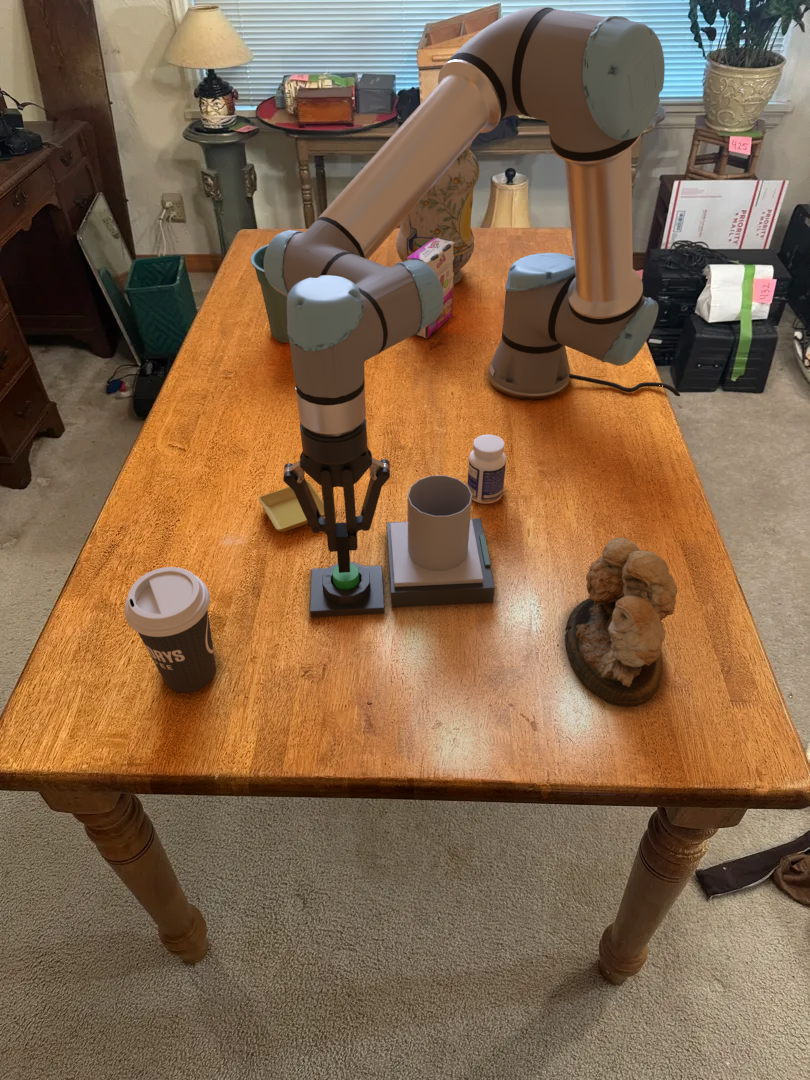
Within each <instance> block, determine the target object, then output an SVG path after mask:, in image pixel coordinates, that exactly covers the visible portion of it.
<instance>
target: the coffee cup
mask: <svg viewBox="0 0 810 1080" xmlns="http://www.w3.org/2000/svg"><path fill="white" fill-rule="evenodd" d="M210 603H211V594H210V590H209V588H208V587H207V585H206V584H205V582H204V581H203V580H202V579H201V578H200V577H198V575H196V574H194V573H193V572H192V571H190V570H188V569H185V568H182V567H179V566H178V567H177V566H176V567H175V566H166V567H165V566H164V567H160V568H156V569H153V570H151V571H149V572H146V573H144V574H143V575H142V576H140V577H139V578H138V579H136V580H135V582H134V583H133V584H132V586H131V587H130V589H129V591H128V594H127V596H126V600H125V604H124V617H125V620H126V623H127V624H128V626H129V627H130V628H131V629H132V630H133V631H134V632H137V634H138V636H139V637H140V639H141V641H142V643H143V644H144V647H145V648H146V650H147V652H148V654H149V655H150V658H151V659H152V661H153V663H154V664H155V667H156V668H157V670H158V672H159V675H160V676H161V677H162V679H163V681H164V683H165V685H166V686H167V687H168V688H169V689H171V690H172V691H174V692H177V693H181V694H185V693H186V694H187V693H193V692H197V691H199V690H201V689H203V688H204V687H206V686H207V685H208V684H210V682H212V680H213V678H214V677H215V675H216V672H217V671H216V670H217V665H216V658H215V657H216V656H215V650H214V649H215V648H214V643H213V638H212V637H213V636H212V630H211V623H210V622H211V621H210V616H209V615H210V614H209V606H210Z"/></svg>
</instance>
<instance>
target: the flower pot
mask: <svg viewBox="0 0 810 1080" xmlns="http://www.w3.org/2000/svg"><path fill="white" fill-rule="evenodd" d="M268 245H269V243H268V244H265V245H262V246H261V247H259V248H257V249H256V250H254V252H252V254H251V255H250V264H251V265H252V267H253V268H254V270H255V274H256V278H257V281H258V283H259V284H260V289H261V293H262V297H263V301H264V302H263V303H264V305H265V306H264V307H265V310H266V316H267V320H268V324H269V329H270V333H271V336H272V337H273V338H274V339H275V340H276V341H278V342H279V343H281V344H284V343H288V344H289V345H290V342H289V337H288V335H287V332H288V331H287V297H286V296H285V295H283V294H281V293H280V292H278V291H276V290H275V289H274V288H273V287H272V286H271V285H270V284H269V283H268V280H267V278H266V276H265V272H264V256H265V252H266V249H267V247H268Z"/></svg>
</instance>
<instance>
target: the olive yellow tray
mask: <svg viewBox="0 0 810 1080" xmlns="http://www.w3.org/2000/svg"><path fill="white" fill-rule="evenodd" d="M306 482H307V484H308V487H309V489H310V491H311V494H312V496H313V498H314V500H315V503H316V505H317V507H318V510H319V512H320V514H321V517H324V518H325V514H324V504H323V498H321V496H320V494H319V493H318V491H317V490H316V489H315V487H314V486H313V484H312V483H311V482H310V481H307V480H306ZM258 501H259V503H260V504H261V506H262V508H263V510H264V511H265V513H266V514H267V516H268V518H269V520H270V521H271V524H272V526H273V527H274V529H275V530H276V531H277V532H280V533H286V532H289V531H291V530H294V529H297V528H300V527H303V526H306V525H309V524H308V521H307V519H306V517H305V515H304V513H303V510H302V508H301V506H300V504H299V502H298V499H297V497H296V495H295V493H294V491H293V490H292V489H291V488H290V487H289V486H287V487H284V488H281V489H277V490H275V491H271V492H269V493H266V494H263V495H259V497H258Z"/></svg>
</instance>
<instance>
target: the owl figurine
mask: <svg viewBox="0 0 810 1080" xmlns="http://www.w3.org/2000/svg"><path fill="white" fill-rule="evenodd" d="M588 568H589V570H588V571H587V573H586V575H585V580H586V590H587V593H588V594H589V595H588V598H586V599H585V600H583V601H581V602H580V603H578V605H576V607H575V608H574V609H573V610H572V611H571V612H570V615H569V617H568V618H567V621H566V625H565V631H564V632H566V633H565V634H564V644H565V651H566V654H567V657H568V660H569V663H570V665H571V667H572V669H573V672H574V673H575V674H576V676H577V677H578V678H579V680H580V681H581V683H582V684H583V686H585V687H586V688H587V689H588V690H589V691H590V692H591V693H593V695H596V696H598V697H599V698H602V699H603V700H604V701H605V702H607V703H608V704H611V705H614V706H621V707H634V706H635V707H637V706H640V705H643V704H646V703H647V702H649V700H651V699H652V698H653V697H654V696H655V694H656V693H657V691H658V689H659V688H660V685H661V681H662V676H663V668H664V667H663V658H662V657H663V656H662V652H661V651H662V649H663V642H664V641H665V639H666V629H665V627H664V623H663V622H662V621H663V619H665V618H667V617H668V616H671V615H673V614H674V613H675V606H676V604H677V599H676V597H677V595H678V592H679V591H678V586H677V584H676V582H675V579H674V577H673V575H672V574H671V573H670V568H669V566H668V564H667V561H666V560H665V559H664V558H662V557H660V556H659V555H658V554H657V553H656V552H653V551H650V550H649V551H648V550H643V549H640V547H639V546H638V545H637V544H636V543H635V542H633V541H631V540H630V539H628V538H626V537H622V536H618V537H614V538H611V539H609V540H608V542H607V543H606V544H605V545H604V547H603V548H602V555H600V556H599V557H598V558H597V559H596V560H594V561H593V562H592V563H591V564H590V565H589V567H588Z"/></svg>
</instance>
